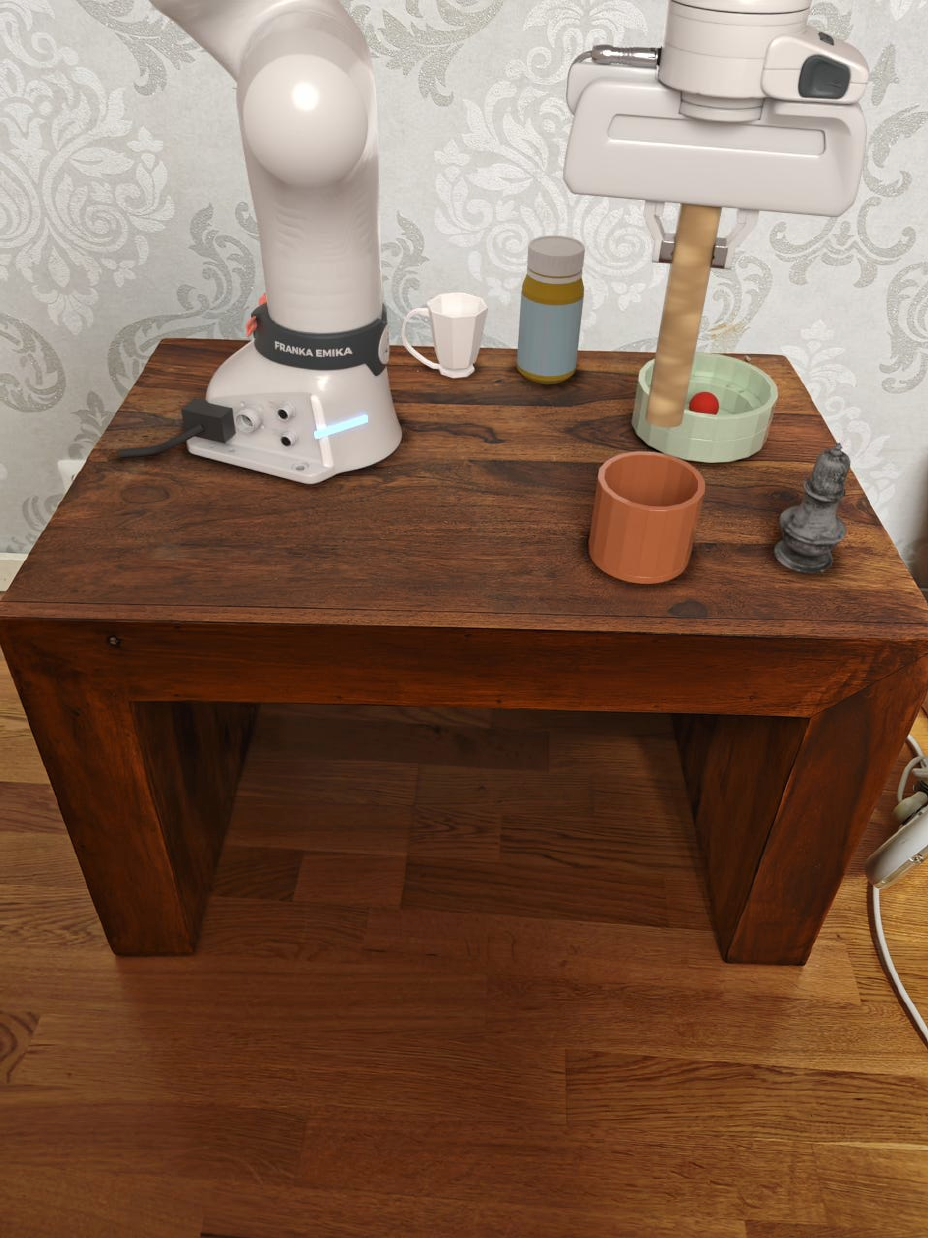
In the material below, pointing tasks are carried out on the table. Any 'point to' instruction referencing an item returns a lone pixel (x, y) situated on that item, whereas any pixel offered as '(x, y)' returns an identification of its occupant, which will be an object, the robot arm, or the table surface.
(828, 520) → the grey chess piece
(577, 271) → the bottle
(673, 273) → the stick
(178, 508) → the table surface
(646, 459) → the crock
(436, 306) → the cup
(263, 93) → the robot arm
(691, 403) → the ball
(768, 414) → the bowl
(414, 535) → the table surface
